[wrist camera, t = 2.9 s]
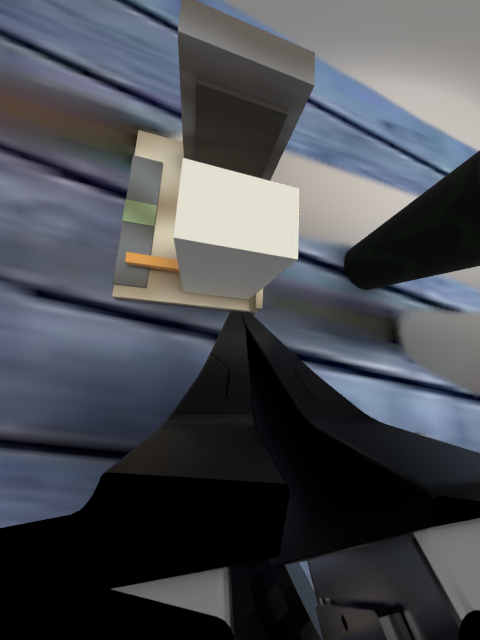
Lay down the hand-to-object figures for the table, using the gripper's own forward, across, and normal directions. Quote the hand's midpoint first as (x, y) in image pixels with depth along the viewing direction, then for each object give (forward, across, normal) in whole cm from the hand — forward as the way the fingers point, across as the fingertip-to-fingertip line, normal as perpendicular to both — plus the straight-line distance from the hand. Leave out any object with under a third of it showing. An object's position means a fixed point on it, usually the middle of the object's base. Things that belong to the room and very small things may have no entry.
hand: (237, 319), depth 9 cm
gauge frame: (+14, +2, 0) cm, 15 cm away
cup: (+14, -17, +1) cm, 22 cm away
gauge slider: (+10, +2, +3) cm, 11 cm away
